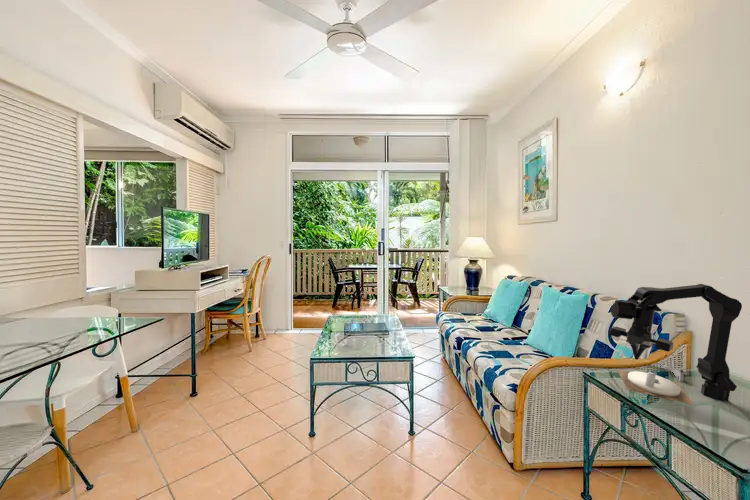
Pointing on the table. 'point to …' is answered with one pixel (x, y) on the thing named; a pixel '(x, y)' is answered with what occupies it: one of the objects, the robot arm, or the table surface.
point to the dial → (654, 383)
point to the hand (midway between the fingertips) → (636, 359)
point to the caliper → (675, 372)
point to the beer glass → (645, 351)
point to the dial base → (681, 398)
